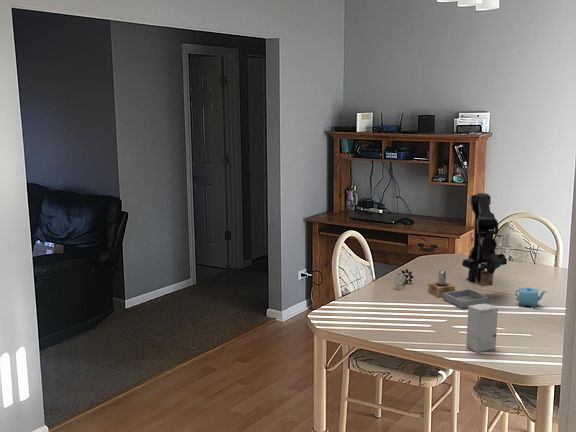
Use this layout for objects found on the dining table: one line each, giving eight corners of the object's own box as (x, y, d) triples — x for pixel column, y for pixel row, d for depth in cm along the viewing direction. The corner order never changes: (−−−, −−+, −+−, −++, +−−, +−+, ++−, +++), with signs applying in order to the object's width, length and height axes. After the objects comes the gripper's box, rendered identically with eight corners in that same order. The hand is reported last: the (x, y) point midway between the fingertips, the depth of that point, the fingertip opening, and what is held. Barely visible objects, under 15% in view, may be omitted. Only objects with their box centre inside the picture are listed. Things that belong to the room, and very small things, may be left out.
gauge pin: (442, 292, 277) (443, 270, 275) (446, 294, 274) (447, 271, 272) (436, 293, 275) (437, 270, 274) (440, 295, 273) (441, 272, 271)
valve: (404, 291, 279) (413, 284, 289) (404, 276, 278) (414, 269, 288) (389, 288, 283) (400, 281, 293) (390, 274, 281) (400, 268, 292)
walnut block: (484, 281, 272) (485, 270, 271) (492, 285, 268) (492, 273, 267) (475, 283, 271) (475, 271, 270) (482, 286, 266) (483, 274, 265)
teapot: (545, 304, 259) (547, 287, 258) (546, 309, 254) (547, 291, 252) (514, 301, 263) (515, 284, 262) (514, 306, 258) (515, 288, 256)
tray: (468, 295, 271) (469, 289, 271) (488, 305, 260) (489, 297, 259) (442, 299, 267) (443, 292, 266) (462, 309, 255) (462, 302, 254)
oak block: (443, 290, 280) (444, 281, 279) (454, 295, 272) (455, 286, 272) (428, 292, 277) (428, 283, 276) (438, 297, 270) (439, 288, 269)
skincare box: (477, 353, 212) (479, 310, 209) (465, 346, 218) (466, 305, 215) (496, 348, 215) (499, 307, 213) (484, 342, 221) (486, 301, 218)
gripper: (479, 252, 255) (477, 289, 258) (516, 247, 262) (514, 284, 265) (462, 246, 266) (460, 282, 269) (498, 242, 272) (496, 277, 275)
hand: (483, 281), depth 269 cm, fingers closed on walnut block, 5 cm apart
